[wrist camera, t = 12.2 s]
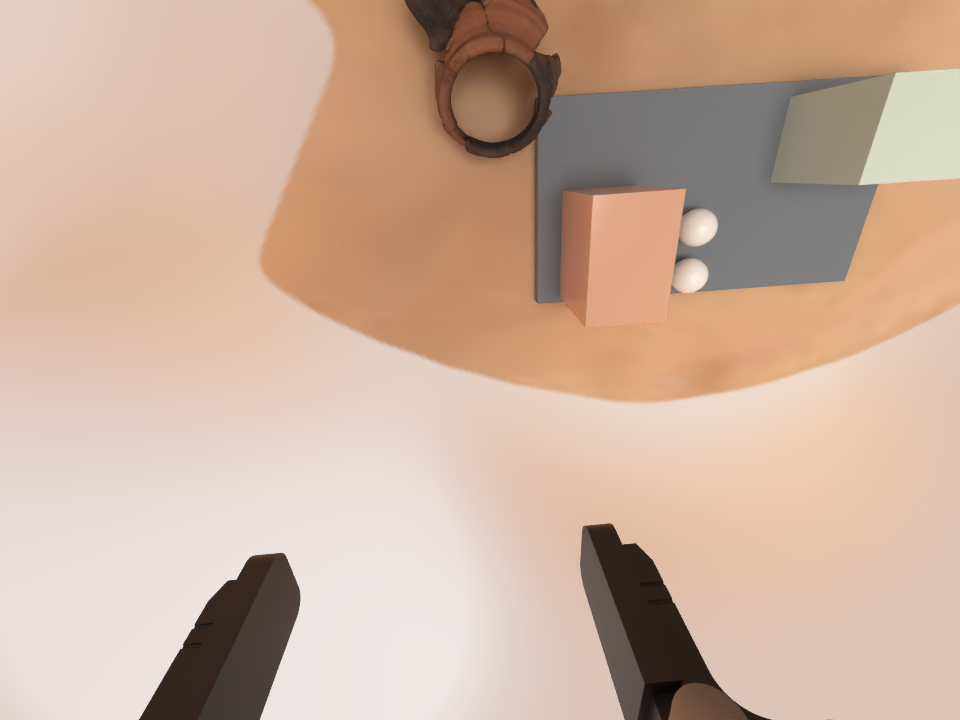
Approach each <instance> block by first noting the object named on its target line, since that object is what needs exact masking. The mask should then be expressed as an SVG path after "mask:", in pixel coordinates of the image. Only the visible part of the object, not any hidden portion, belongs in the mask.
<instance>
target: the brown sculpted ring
mask: <svg viewBox="0 0 960 720" xmlns="http://www.w3.org/2000/svg"><path fill="white" fill-rule="evenodd" d="M405 2H406V4H407V6H408V8H409V9H410V11H411V12H412V13H413V15H414V16H415V18H416V19H417V21H418V22H419V23H420V24H421V26H422V27H423V28H424V29H425V31H426V32H427V34H428V36H429V42H430V49H431V50H432V51H434V52H440V51H442V50H444V48H445V47H446V46H447V47H446V50H445V53H446V55H445V60H444V61H441V60H437V61H436V66H435V94H436V101H437V106H438V111H439V114H440V117H441V119H442V122H443V127H444V128H445V130H446V132H447V133H448V134H449V135H450V136H451V137H452V138H453V139H455V140H456V141H457V142H459V143H460V144H463V145H465V146H466V150H467V151H468V152H469V153H472V154H475V155H477V156H483V157H488V158H500V157H504V156H508V155H509V154H511V153H516V152H518V151H520V150H522V149H523V148H524V147H526V146H527V145H528V144H530V143H531V142H532V141H533V140H534V139H535V138H536V136H537V135H538V134H539V133H540V131H541V129H542V127H543V126H544V125H545V124H546V122H547V121H548V119H549V118H550V116H551V115H552V111H551V110H550V109H549V105H550V102H551V98H552V97H553V96H554V93H555V91H556V89H557V85H558V78H559V76H560V74H561V63H560V58H559V55H558V54H557V53H555V54H554V55H552V56H550V55H543V54H540V53H538V52H535V49H536V47H537V46H538V45H539V43H540V41H541V39H542V38H543V36H544V35H545V33H546V32H547V30H548V24H547V21H546V19H545V16H544V14H543V13H542V11H541V10H540V9H539V7H538V6H537V4H536V2H535V1H534V0H405ZM489 52H500V53H506V54H508V55H512V56H514V57H516V58H517V59H519V60H520V61H521V62H522V63H524V64H525V65H526V66H528V68H529V69H530V71H531V72H532V74H533V76H534V78H535V81H536V84H537V89H538V104H537V110H536V112H535V115H534V117H533V119H532V120H531V122H530V123H529V125H528V126H527V127H526V128H525V129H524V130H523V131H522V132H521V133H520V134H518V135H517V136H515V137H513V138H511V139H509V140H506V141H502V142H495V143H490V142H484V141H480V140H477V139H475V138H473V137H471V136H468V135H466V134H465V133H464V132H463V131H462V130H461V129H460V128H459V127H458V125H457V121H456V119H455V117H454V114H453V111H452V107H451V91H452V86H453V83H454V80H455V78H456V76H457V73H458V72H459V71H460V70H461V68H462V67H463V66H464V65H465V64H466V63H467V62H469V61H470V60H471V59H473V58H475V57H477V56H479V55H481V54H485V53H489Z"/></svg>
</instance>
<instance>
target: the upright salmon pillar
mask: <svg viewBox="0 0 960 720" xmlns="http://www.w3.org/2000/svg"><path fill="white" fill-rule="evenodd" d="M685 193H686V189H682V188H667V187H653V186H638V185H632V186H618V187H604V188H590V189H576V190H563V193H562V232H561V271H560V298H561V299H562V300H563V301H564V302H565V304H566V305H567V306H568V307H569V309H570V310H571V311H572V312H573V313H574V315H575V316H576V317H577V318H578V319H579V321H580V322H581V323H582V324H583V325H584V327H585V328H589V327H602V326H615V325H628V324H640V323H653V322H666V318H667V312H668V305H669V298H670V292H671V285H672V279H673V272H674V266H675V259H676V252H677V246H678V239H679V233H680V226H681V219H682V213H683V206H684V200H685Z"/></svg>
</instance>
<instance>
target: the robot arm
mask: <svg viewBox="0 0 960 720" xmlns="http://www.w3.org/2000/svg"><path fill="white" fill-rule="evenodd" d="M580 566H581V576H582V581H583V585H584V589H585V592H586V595H587V599H588V602H589V605H590V609H591V612H592V615H593V618H594V621H595V625H596V628H597V631H598V634H599V638H600V641H601V644H602V647H603V651H604V654H605V657H606V660H607V664H608V667H609V670H610V673H611V677H612V680H613V683H614V686H615V690H616V693H617V696H618V699H619V702H620V706H621V709H622V712H623V715H624V719H625V720H770V719H766V718H764V717H761V716H758V715H756V714H753V713H751V712H750V711H748V710H746V709H745V708H743V707H741V706H740V705H739V704H737V703H736V702H734V701H733V700H732V699H731V698H730V697H729V696H728V695H727V694H726V693H725V692H724V691H723V690H722V689H721V688H720V687H719V685H718V684H717V683H716V681H715V680H714V679H713V677H712V675H711V674H710V672H709V670H708V668H707V666H706V664H705V662H704V660H703V658H702V656H701V655H700V652H699V650H698V649H697V647H696V645H695V643H694V641H693V639H692V637H691V635H690V633H689V631H688V629H687V627H686V625H685V623H684V621H683V619H682V617H681V615H680V613H679V611H678V609H677V607H676V605H675V603H673V601H672V597H671V596H670V593H669V592H668V590H667V588H666V586H665V585H664V584H663V580H662V578H661V576H660V574H659V572H658V570H657V568H656V566H655V564H654V562H653V560H652V559H651V558H650V557H649V556H648V555H647V554H646V553H645V552H644V551H643V550H642V549H641V548H639V546H638V545H637V544H636V543H635V544H624V545H622V543H621V541H620V538H619V536H618V534H617V532H616V530H615V528H614V526H613V525H612V524H600V525H589V526H583V530H582V544H581V560H580ZM299 606H300V590H299V587H298V585H297V582H296V579H295V577H294V575H293V572H292V570H291V567H290V565H289V562H288V560H287V558H286V556H285V554H283V553H276V554H266V555H255V556H252V557H250V558H249V559H248V560H247V562H246V563H245V566H244V567H243V569H242V571H241V573H240V574H239V576H238V578H237V580H229V581H227V582H226V583H225V584H224V585H223V586H222V587H221V589H220V590H219V591H218V592H217V593H216V594H215V595H214V596H213V597H212V598H211V599H210V600H209V601H208V603H207V604H206V606H205V608H204V609H203V611H202V613H201V615H200V616H199V618H198V620H197V621H196V623H195V628H194V629H192V630H191V632H190V634H189V635H188V637H187V639H186V640H185V642H184V644H183V648H182V649H180V651H179V653H178V654H177V656H176V657H175V659H174V661H173V663H172V664H171V666H170V668H169V670H168V671H167V673H166V675H165V676H164V678H163V680H162V682H161V683H160V685H159V687H158V688H157V690H156V692H155V694H154V695H153V697H152V699H151V700H150V702H149V704H148V705H147V707H146V709H145V711H144V712H143V714H142V716H141V717H140V719H139V720H260V717H261V715H262V712H263V709H264V706H265V703H266V701H267V698H268V695H269V692H270V689H271V687H272V684H273V681H274V678H275V676H276V673H277V670H278V667H279V665H280V662H281V659H282V656H283V654H284V651H285V648H286V645H287V643H288V640H289V637H290V634H291V632H292V628H293V626H294V623H295V621H296V618H297V615H298V611H299Z"/></svg>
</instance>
